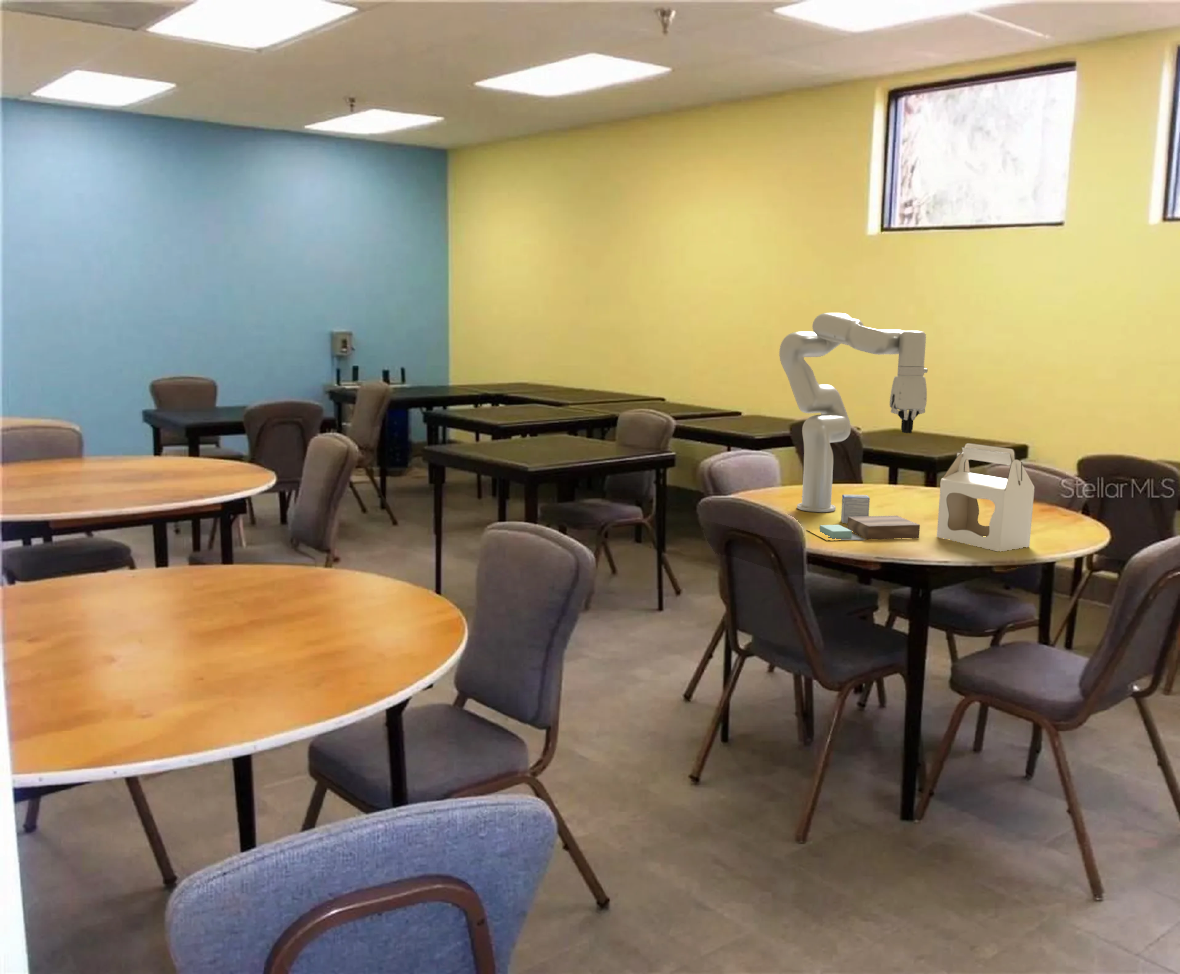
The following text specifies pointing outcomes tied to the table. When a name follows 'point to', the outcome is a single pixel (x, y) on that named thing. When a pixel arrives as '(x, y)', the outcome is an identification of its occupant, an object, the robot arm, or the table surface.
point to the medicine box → (854, 506)
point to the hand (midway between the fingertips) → (906, 432)
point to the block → (836, 531)
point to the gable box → (1007, 495)
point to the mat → (854, 537)
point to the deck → (883, 527)
